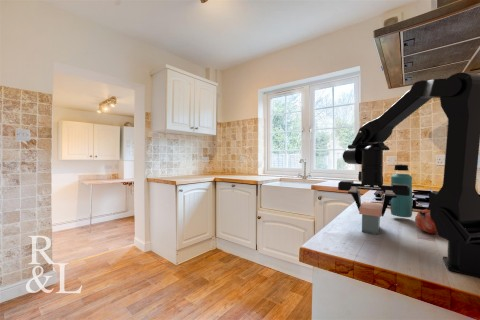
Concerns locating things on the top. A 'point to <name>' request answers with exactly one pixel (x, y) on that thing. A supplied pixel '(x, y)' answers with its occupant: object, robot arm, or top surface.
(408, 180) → the beverage bottle
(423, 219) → the pomegranate
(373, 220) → the box
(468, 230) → the robot arm
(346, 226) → the top surface
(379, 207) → the lid
